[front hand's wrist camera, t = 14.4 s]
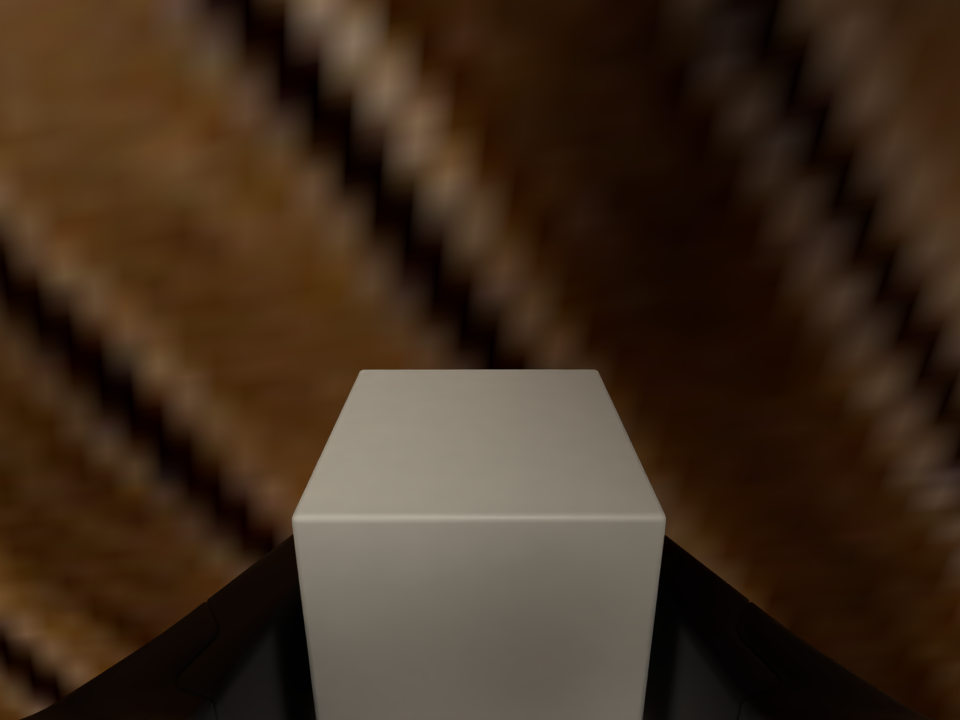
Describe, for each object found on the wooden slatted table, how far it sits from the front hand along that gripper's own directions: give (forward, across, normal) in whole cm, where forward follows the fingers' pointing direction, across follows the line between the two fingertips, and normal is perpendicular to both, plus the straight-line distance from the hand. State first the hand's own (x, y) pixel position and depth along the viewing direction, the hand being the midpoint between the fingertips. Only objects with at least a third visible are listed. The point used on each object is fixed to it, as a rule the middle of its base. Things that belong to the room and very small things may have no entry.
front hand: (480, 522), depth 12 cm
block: (+1, 0, 0) cm, 1 cm away
